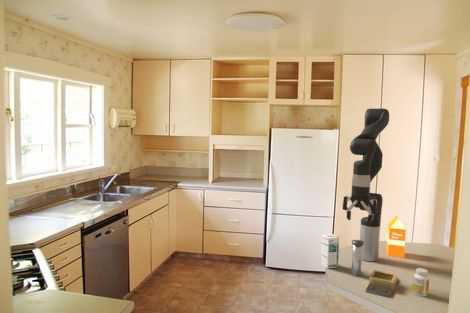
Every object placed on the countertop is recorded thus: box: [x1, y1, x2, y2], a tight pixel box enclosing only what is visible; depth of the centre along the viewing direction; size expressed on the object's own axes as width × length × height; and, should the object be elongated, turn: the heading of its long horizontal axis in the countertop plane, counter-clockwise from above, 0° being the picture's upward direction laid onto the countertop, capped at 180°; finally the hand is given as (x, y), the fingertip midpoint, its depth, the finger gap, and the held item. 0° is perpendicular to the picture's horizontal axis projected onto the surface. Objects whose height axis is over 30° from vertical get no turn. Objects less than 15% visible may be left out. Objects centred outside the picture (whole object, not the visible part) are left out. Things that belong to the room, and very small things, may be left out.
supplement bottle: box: [412, 267, 430, 297], centre depth 142 cm, size 5×5×10 cm
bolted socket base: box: [365, 269, 399, 298], centre depth 149 cm, size 21×9×4 cm, turn 148°
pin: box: [350, 239, 364, 277], centre depth 159 cm, size 5×5×15 cm
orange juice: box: [386, 214, 407, 258], centre depth 188 cm, size 8×9×20 cm
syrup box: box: [320, 233, 340, 270], centre depth 168 cm, size 6×6×14 cm
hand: (359, 221), depth 158 cm, fingers open, 8 cm apart
